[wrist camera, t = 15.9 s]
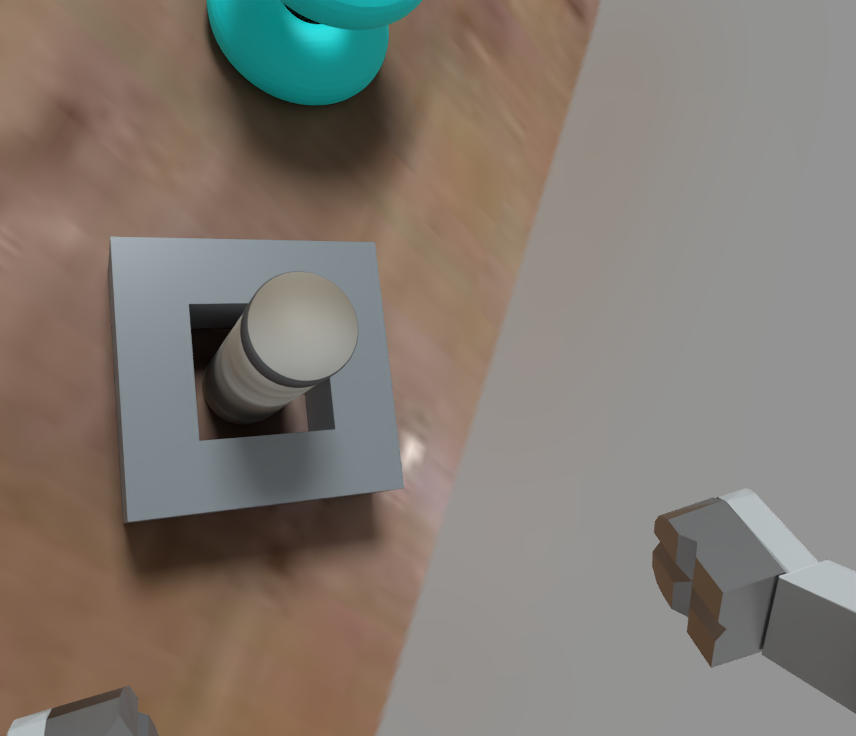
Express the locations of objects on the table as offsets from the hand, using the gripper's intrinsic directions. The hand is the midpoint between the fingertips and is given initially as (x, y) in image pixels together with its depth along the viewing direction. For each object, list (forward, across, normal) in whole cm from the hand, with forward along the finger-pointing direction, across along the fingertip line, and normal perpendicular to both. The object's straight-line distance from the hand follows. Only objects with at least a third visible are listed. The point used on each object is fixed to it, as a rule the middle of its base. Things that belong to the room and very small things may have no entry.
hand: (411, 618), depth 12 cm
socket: (+25, +4, +12) cm, 28 cm away
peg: (+25, +4, +12) cm, 28 cm away
